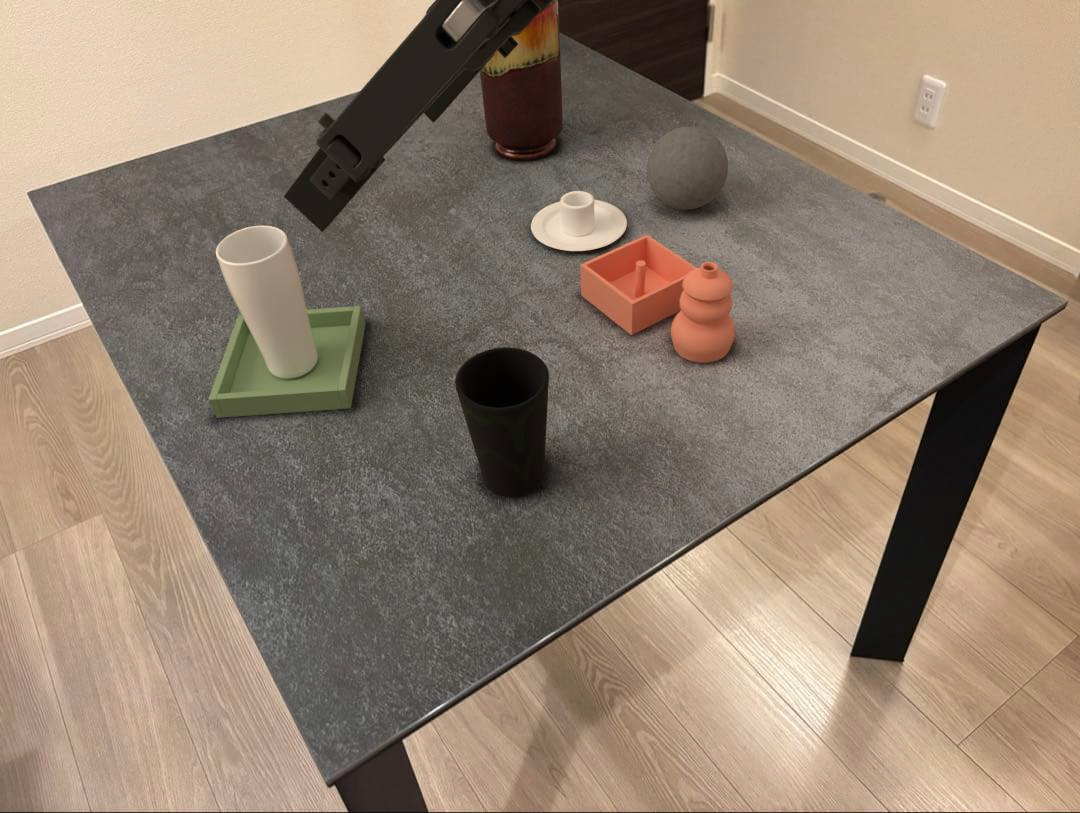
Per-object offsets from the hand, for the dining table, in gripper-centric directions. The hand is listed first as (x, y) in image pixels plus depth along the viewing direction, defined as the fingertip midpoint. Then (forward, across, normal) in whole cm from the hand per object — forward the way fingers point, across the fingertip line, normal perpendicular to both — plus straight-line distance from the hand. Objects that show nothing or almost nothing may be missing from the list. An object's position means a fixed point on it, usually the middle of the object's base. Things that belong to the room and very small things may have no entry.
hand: (368, 153), depth 50 cm
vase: (+37, +64, -11) cm, 75 cm away
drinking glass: (+40, +11, -7) cm, 42 cm away
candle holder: (+26, +46, -21) cm, 57 cm away
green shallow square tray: (+40, +12, -7) cm, 43 cm away
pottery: (+16, +31, -32) cm, 48 cm away
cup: (+21, +5, -27) cm, 35 cm away
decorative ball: (+19, +55, -29) cm, 65 cm away
